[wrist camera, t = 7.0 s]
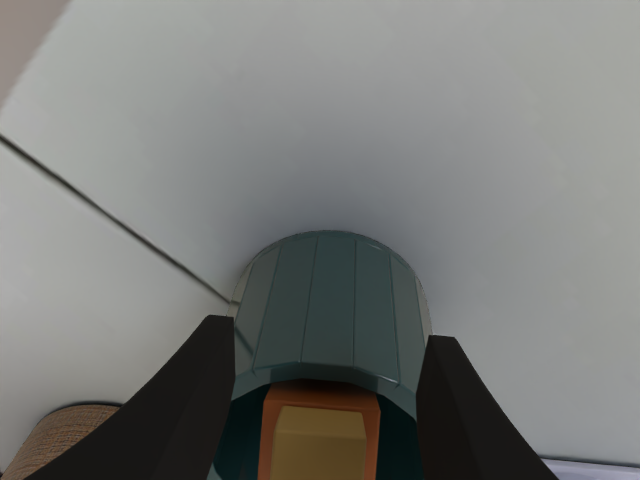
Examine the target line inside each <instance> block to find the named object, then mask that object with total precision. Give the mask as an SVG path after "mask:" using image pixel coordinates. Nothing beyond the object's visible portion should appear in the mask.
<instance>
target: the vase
mask: <svg viewBox="0 0 640 480" xmlns="http://www.w3.org/2000/svg"><path fill="white" fill-rule="evenodd" d="M119 408H121V407H118V406H112V405H103V404H86V405H76V406H71V407H67V408H64V409H61V410H58V411H56V412H53V413H51V414H50V415H48V416H46V417H45V418H44V419H42V420H41V421H40V422H39V423H38V424H37V426H36V427H35V428H34V430H33V431H32V432H31V434H30V435H29V437H28V438H27V439H26V441H25V442H24V443H23V445H22V446H21V448H20V449H19V451H18V452H17V454H16V455H15V457H14V459H13V460H12V462H11V463H10V465H9V466H8V468H7V469H6V471H5V473H4V474H3V476H2V477H1V479H0V480H22V479H24V478H26V477H27V476H29V475H30V474H32V473H33V472H35V471H36V470H38V469H40V468H41V467H43V466H44V465H46V464H47V463H49V462H51V461H52V460H53V459H55V458H56V457H58V456H59V455H61V454H62V453H63V452H65V451H66V450H68V449H69V448H70V447H72V446H73V445H74V444H76V443H77V442H78V441H80V440H81V439H82V438H84V437H85V436H86V435H88V434H89V433H90V432H92V431H93V430H94V429H96V428H97V427H98V426H99V425H100V424H102V423H103V422H104V421H105V420H107V419H108V418H109V417H110V416H111V415H113V414H114V413H115V412H116V411H117V410H118V409H119Z"/></svg>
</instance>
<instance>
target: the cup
mask: <svg viewBox="0 0 640 480" xmlns="http://www.w3.org/2000/svg"><path fill="white" fill-rule="evenodd" d="M226 316H229V317H234V337H235V373H236V379H235V384H234V388H233V393H232V398H231V403H230V408H229V412H228V417H227V420H226V423H225V426H224V429H223V432H222V435H221V438H220V441H219V444H218V447H217V450H216V453H215V456H214V459H213V462H212V465H211V468H210V471H209V474H208V477H207V480H257V478H258V465H259V453H260V441H261V429H262V416H263V404H264V400H265V397H266V395H267V393H268V391H269V389H270V386H271V384H272V383H278V382H284V381H290V380H297V379H313V380H323V381H334V382H345V383H350V384H353V385H355V386H358V387H361V388H364V389H366V390H369V391H372V392H375V395H376V398H377V401H378V405H379V408H380V411H381V413H380V426H379V438H378V451H377V464H376V477H375V480H425V478H424V472H423V466H422V460H421V454H420V448H419V441H418V435H417V417H416V391H417V386H418V382H419V377H420V372H421V368H422V363H423V359H424V354H425V350H426V345H427V341H428V336H429V335H433V332H432V326H431V321H430V315H429V309H428V304H427V300H426V298H425V295H424V291H423V288H422V286H421V283H420V281H419V279H418V278H417V276H416V274H415V273H414V271H413V270H412V269H411V267H410V266H409V265H408V264H407V263H406V262H405V261H404V260H403V259H402V258H401V257H400V256H399V255H398V254H396V253H395V252H394V251H392V250H391V249H389V248H388V247H386V246H384V245H382V244H381V243H379V242H377V241H375V240H372V239H370V238H367V237H364V236H361V235H357V234H353V233H349V232H342V231H326V230H323V231H311V232H305V233H300V234H296V235H293V236H290V237H287V238H284V239H282V240H280V241H278V242H276V243H274V244H272V245H271V246H269V247H268V248H266V249H264V250H263V251H262V252H261V253H260V254H258V255H257V256H256V257H255V258H254V259H253V260H252V261H251V263H250V264H249V265H248V266H247V267H246V269H245V271H244V272H243V274H242V276H241V278H240V281H239V282H238V284H237V286H236V288H235V291H234V294H233V297H232V300H231V302H230V305H229V308H228V311H227V314H226Z"/></svg>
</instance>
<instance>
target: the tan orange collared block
mask: <svg viewBox="0 0 640 480" xmlns="http://www.w3.org/2000/svg"><path fill="white" fill-rule="evenodd" d="M380 413H381V411H380V408H379V405H378V401H377V398H376V395H375V392H372V391H369V390H366V389H364V388H361V387H358V386H355V385H353V384H350V383H345V382H334V381H323V380H313V379H297V380H290V381H284V382H278V383H272V384H271V386H270V389H269V391H268V393H267V395H266V397H265V400H264V404H263V416H262V429H261V441H260V453H259V465H258V478H257V480H375V477H376V464H377V451H378V438H379V426H380Z"/></svg>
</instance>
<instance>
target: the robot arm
mask: <svg viewBox="0 0 640 480" xmlns="http://www.w3.org/2000/svg"><path fill="white" fill-rule="evenodd" d="M235 379H236V373H235V337H234V317H229V316H218V315H208V316H207V317H205V318H204V320H203V321H202V322H201V323H200V325H199V326H198V327H197V328H196V330H195V331H194V332H193V333H192V334H191V336H190V337H189V338H188V339H187V340H186V342H185V343H184V344H183V345H182V346H181V347H180V348H179V350H178V351H177V352H176V353H175V354H174V355H173V356H172V357H171V358H170V359H169V360H168V362H167V363H166V364H165V365H164V366H163V367H162V368H161V369H160V370H159V371H158V372H157V373H156V374H155V375H154V376H153V377H152V378H151V379H150V380H149V381H148V382H147V383H146V384H145V385H144V386H143V387H142V388H141V389H140V390H139V391H138V392H137V393H136V394H135V395H134V396H133V397H132V398H131V399H130V400H128V401H127V402H126V403H125V404H124V405H123V406H122V407H121V408H119V409H118V410H117V411H116V412H115V413H114V414H113V415H111V416H110V417H109V418H108V419H107V420H105V421H104V422H103V423H102V424H100V425H99V426H98V427H97V428H96V429H94V430H93V431H92V432H90V433H89V434H88V435H86V436H85V437H84V438H82V439H81V440H80V441H78V442H77V443H76V444H74V445H73V446H72V447H70V448H69V449H68V450H66V451H65V452H63V453H62V454H61V455H59V456H58V457H56V458H55V459H53V460H52V461H51V462H49V463H47V464H46V465H44V466H43V467H41V468H40V469H38V470H36V471H35V472H33V473H32V474H30V475H29V476H27V477H26V478H24V479H22V480H207V477H208V474H209V471H210V468H211V465H212V462H213V459H214V456H215V453H216V450H217V447H218V444H219V441H220V438H221V435H222V432H223V429H224V426H225V423H226V420H227V417H228V412H229V408H230V403H231V398H232V393H233V388H234V384H235ZM416 417H417V435H418V441H419V448H420V454H421V460H422V466H423V472H424V478H425V480H640V468H633V467H623V466H612V465H602V464H591V463H581V462H571V461H560V460H550V459H540V457H539V456H538V455H537V454H536V453H535V452H534V450H533V449H532V448H531V447H530V446H529V444H528V443H527V442H526V441H525V439H524V438H523V437H522V436H521V434H520V433H519V432H518V430H517V429H516V428H515V427H514V425H513V424H512V423H511V421H510V420H509V419H508V417H507V416H506V415H505V413H504V412H503V411H502V409H501V408H500V406H499V405H498V403H497V402H496V401H495V399H494V398H493V396H492V395H491V393H490V392H489V391H488V389H487V388H486V386H485V385H484V383H483V382H482V380H481V378H480V377H479V375H478V374H477V372H476V371H475V369H474V367H473V366H472V364H471V363H470V361H469V359H468V358H467V356H466V354H465V353H464V351H463V349H462V348H461V346H460V344H459V343H458V341H457V340H456V339H455V337H448V336H437V335H429V336H428V341H427V345H426V350H425V354H424V359H423V363H422V368H421V372H420V377H419V382H418V386H417V391H416Z"/></svg>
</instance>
